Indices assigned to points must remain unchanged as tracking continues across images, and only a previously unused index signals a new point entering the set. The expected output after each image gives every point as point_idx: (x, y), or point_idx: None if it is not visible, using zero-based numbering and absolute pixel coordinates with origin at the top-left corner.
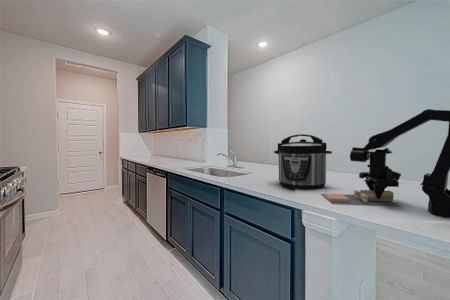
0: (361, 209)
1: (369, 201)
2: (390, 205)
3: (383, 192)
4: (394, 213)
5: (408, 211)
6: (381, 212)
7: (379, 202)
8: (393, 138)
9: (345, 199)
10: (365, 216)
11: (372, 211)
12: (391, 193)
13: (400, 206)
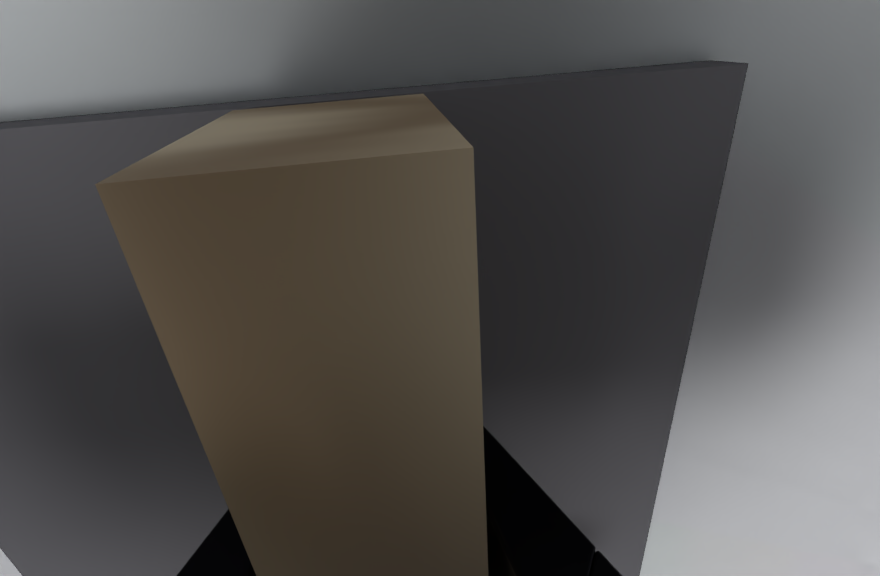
0: (676, 570)
1: None
2: (651, 269)
3: (483, 485)
4: (856, 309)
5: (836, 12)
6: (791, 434)
7: (484, 378)
8: None
9: None
10: (851, 573)
11: (746, 502)
12: (460, 220)
13: (723, 96)
